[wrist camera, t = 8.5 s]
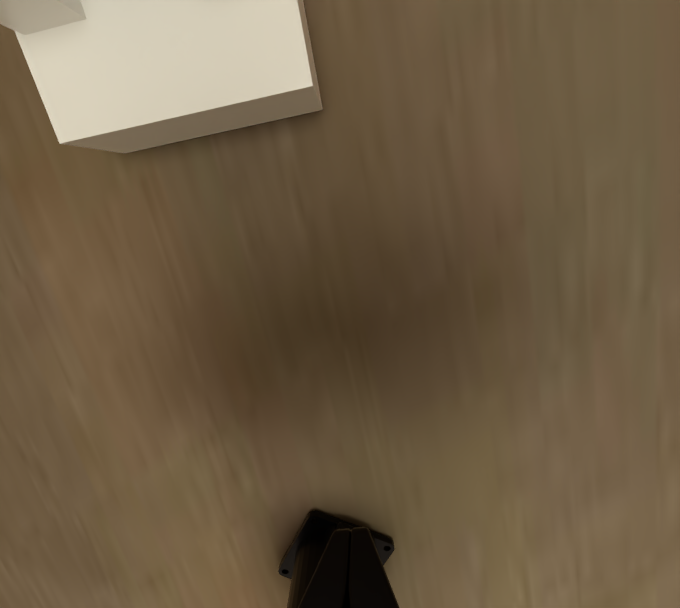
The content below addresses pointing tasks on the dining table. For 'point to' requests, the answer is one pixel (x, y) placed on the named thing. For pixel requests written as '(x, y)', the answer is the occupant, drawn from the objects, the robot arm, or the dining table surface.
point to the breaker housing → (164, 67)
